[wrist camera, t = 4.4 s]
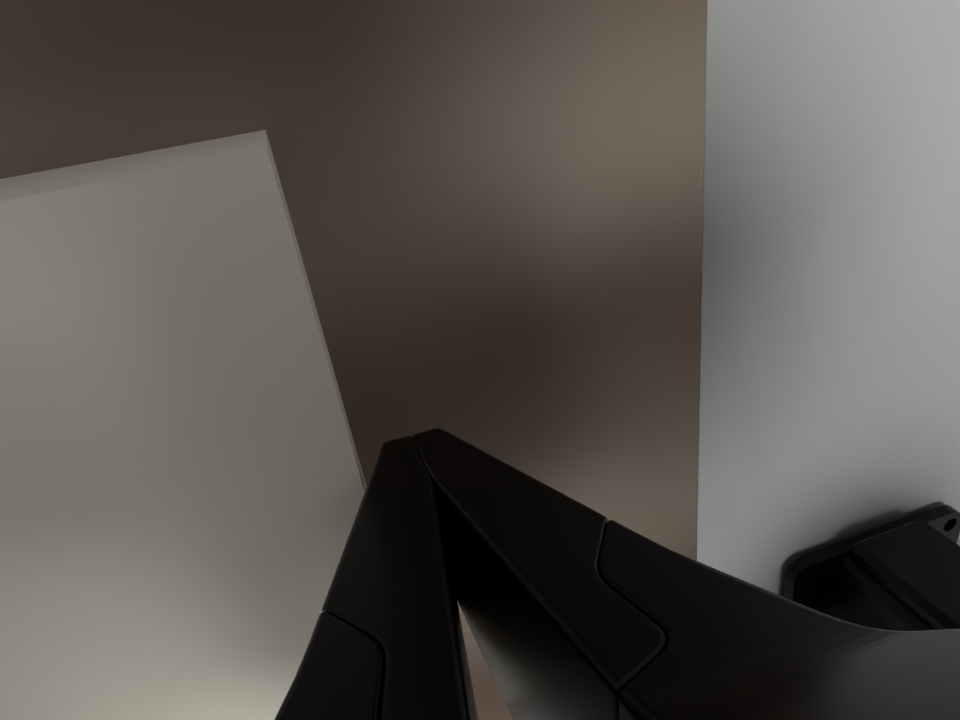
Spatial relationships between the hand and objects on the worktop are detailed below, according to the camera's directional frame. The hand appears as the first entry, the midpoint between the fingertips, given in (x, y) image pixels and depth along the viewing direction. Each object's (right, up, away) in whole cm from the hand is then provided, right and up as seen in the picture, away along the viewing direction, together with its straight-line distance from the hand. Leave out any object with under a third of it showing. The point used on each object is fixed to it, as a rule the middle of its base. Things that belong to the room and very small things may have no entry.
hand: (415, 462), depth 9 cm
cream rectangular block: (-4, -1, 0) cm, 4 cm away
